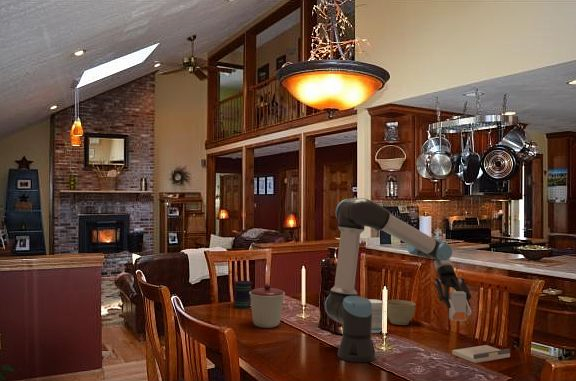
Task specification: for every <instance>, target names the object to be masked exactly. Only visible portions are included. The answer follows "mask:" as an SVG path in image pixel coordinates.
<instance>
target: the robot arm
mask: <svg viewBox="0 0 576 381" xmlns="http://www.w3.org/2000/svg"><path fill="white" fill-rule="evenodd" d="M334 214H335V218H336V219H337V229H339V231H340V234H339V235H340V237H339V244H338V246H339V247H338V254H337V262H336V269H335V271H336V272H335V280H334V286H333V287H331V289H330V291H329V292H330V293H329V294H328V296H327V297H326V298H325V301H324V310H325V312H326V314H327V316H328V317H329V318H330V319H331V320H333V321H335V322H337V323H339V324H341V325H342V337H341V339H340V343H339V347H338V350H337V357H338V358H339V359H341V360H343V361H345V362H351V363H370V362H372V361H375V360H376V350H375V347H374V346H375V345H374V343H373V339H372V333H371V330H372V304H371V302H370V301H369V299H368V298H366V297H363V296H359V295H358V292H357V290H356V289H355V285H356V275H357V266H358V257H359V247H360V238H361V234H362V233H363V232H364V231H365V227H366V228H367V227H369V228H371V229H373V230H376V231H377V232H378V231H383V232H384V233H386V234H388V235H390V236H392V237H394V238H396V239H397V240H400V241H402V242H403V243H404V244H407V246H406V248H407V249H406V250H407V252H408V254H409V255H413V256H417V257H421V258H426V259H431V260H432V263H433V266H434V268H435V270H436V274H437V276H438V278H436V279H435V280H434V281H433V284H434V285H435V287H436V291H437V294H438V298H439V301H441V302H443V303H444V304H445V307H446V308H447V309H449V310H450V312H451V315H452V316H454V314H455V313H456V312H455V309H454V307H453V304H452V301H451V299H449V297H450V290H449V289H450V288H452V289H453V291H463V292H465V293H466V316H470V315H471V314H472V312H473V311H472V309H471V303H470V300H471V299H472V297H473V296H472V294H471V292H470V290H469V288H468V287H467V286H468V285H466V282H465V278H459V277H457V275H456V272H455V269H454V267H453V264H452V261H451V257H452V255H453V247H452V246H451V244H448V243H446V242H444V241H443V240H442V239H439V238H433V237H431V236H430V235H428V234H426V233H424V232H422V231H421V230H419V229H417V228H416V227H414V226H412V225H410V224H409V223H406V222H405V221H404V220H401V219H400V218H399V217H396V216H395V215H392V214H391V212H390V211H389V210H388V209H386V208H385V207H383V206H381V205H380V204H378V203H377V202H374V201H373V200H370V199H368V198H361V197H360V198H357V197H355V198H354V197H350V198H345V199H343V200H341V201H340V202H339V203H338V204H337V206H336V208H335V213H334ZM442 285H443V287H442ZM449 310H448V311H449Z"/></svg>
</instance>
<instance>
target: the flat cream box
mask: <svg viewBox="0 0 576 381" xmlns="http://www.w3.org/2000/svg"><path fill="white" fill-rule="evenodd" d="M451 353H452V355H453V356H457V357H459V358H462V359H464V360H467V361H469V362H471V363H474V364H477V363H482V362H483V363H485V362H489V361H495V360H500V359H506V358H510V357H511V348H506V349H505V348H504V349H499V348H496V347H493V346H490V345H487V344H484V345H479V346H477V345H476V346H472V347H465V348H458V349H452V351H451Z"/></svg>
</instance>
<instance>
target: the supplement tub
mask: <svg viewBox="0 0 576 381" xmlns="http://www.w3.org/2000/svg"><path fill="white" fill-rule="evenodd" d="M368 300H369V301H370V302H371V304H372V330H371V334H380V332H381V331H382V301H383V300H381V299H380V300H379V299H368ZM382 332H383V331H382ZM382 332H381V333H382Z"/></svg>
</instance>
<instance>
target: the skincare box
mask: <svg viewBox="0 0 576 381" xmlns="http://www.w3.org/2000/svg"><path fill="white" fill-rule="evenodd" d="M449 299H451V301H452V304H453V307H454V309H455V312H456V313H455V314H454V316H452V315H451V312H450V310H448V319H449V320H451V321H452V322H453V321H456V322H459V321H460V322H466V320H467V317H466V316H467V312H466V293H465V292H463V291H456V290H453V291H452V290H449ZM449 299H448V300H449Z"/></svg>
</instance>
